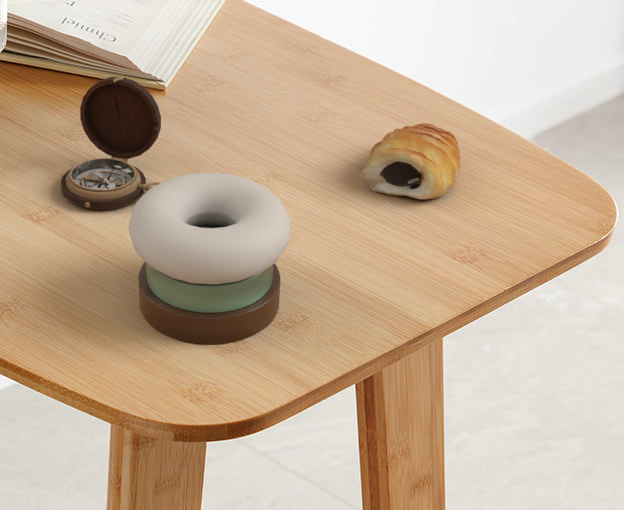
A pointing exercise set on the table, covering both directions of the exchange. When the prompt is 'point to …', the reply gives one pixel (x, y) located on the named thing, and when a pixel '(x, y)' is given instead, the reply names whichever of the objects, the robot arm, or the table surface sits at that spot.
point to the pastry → (414, 162)
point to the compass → (114, 144)
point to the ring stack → (209, 305)
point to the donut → (210, 241)
